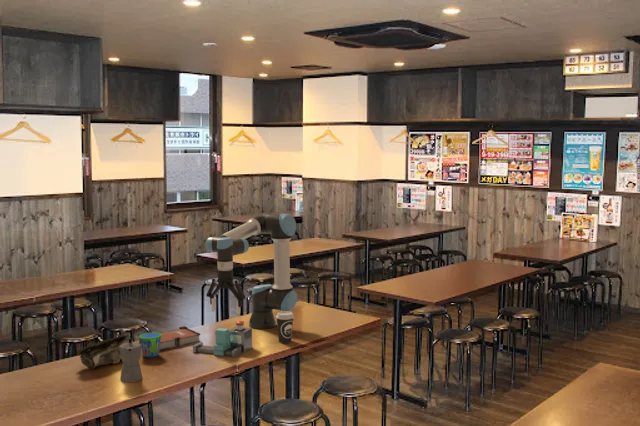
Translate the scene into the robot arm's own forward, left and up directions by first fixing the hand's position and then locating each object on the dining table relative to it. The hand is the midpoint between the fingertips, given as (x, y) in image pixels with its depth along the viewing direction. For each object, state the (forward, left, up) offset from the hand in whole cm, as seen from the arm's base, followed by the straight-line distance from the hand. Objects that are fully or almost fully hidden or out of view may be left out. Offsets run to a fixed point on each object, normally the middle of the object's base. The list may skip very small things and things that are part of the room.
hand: (226, 312), depth 318 cm
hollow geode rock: (+34, -45, -21) cm, 60 cm away
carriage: (+2, -1, -20) cm, 20 cm away
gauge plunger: (-7, +4, -13) cm, 15 cm away
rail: (+2, -4, -20) cm, 21 cm away
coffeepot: (+47, -22, -20) cm, 55 cm away
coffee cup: (-27, +20, -20) cm, 39 cm away
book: (-4, -35, -21) cm, 41 cm away
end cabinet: (-7, +4, -20) cm, 22 cm away
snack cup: (+17, -32, -20) cm, 42 cm away
